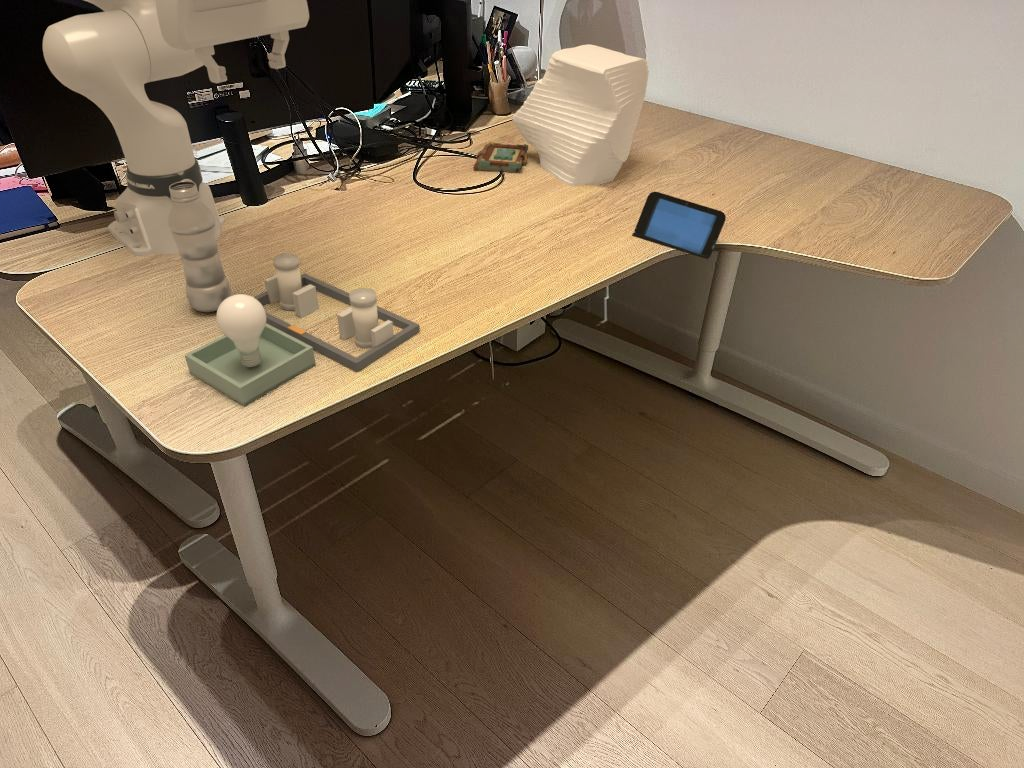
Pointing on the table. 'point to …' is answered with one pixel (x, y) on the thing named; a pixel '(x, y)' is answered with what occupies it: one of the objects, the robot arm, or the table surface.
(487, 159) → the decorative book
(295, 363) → the tray
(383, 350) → the rail
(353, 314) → the cylinder
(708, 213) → the small black monitor
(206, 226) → the plastic bottle
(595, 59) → the white ridged sculpture
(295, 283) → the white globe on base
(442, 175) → the table surface
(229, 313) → the lightbulb
